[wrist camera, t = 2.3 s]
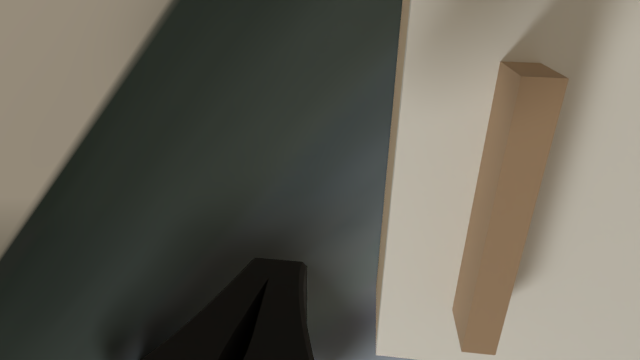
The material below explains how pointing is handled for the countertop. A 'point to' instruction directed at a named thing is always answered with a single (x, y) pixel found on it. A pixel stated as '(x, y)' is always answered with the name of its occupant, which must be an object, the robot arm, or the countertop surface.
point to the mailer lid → (516, 184)
